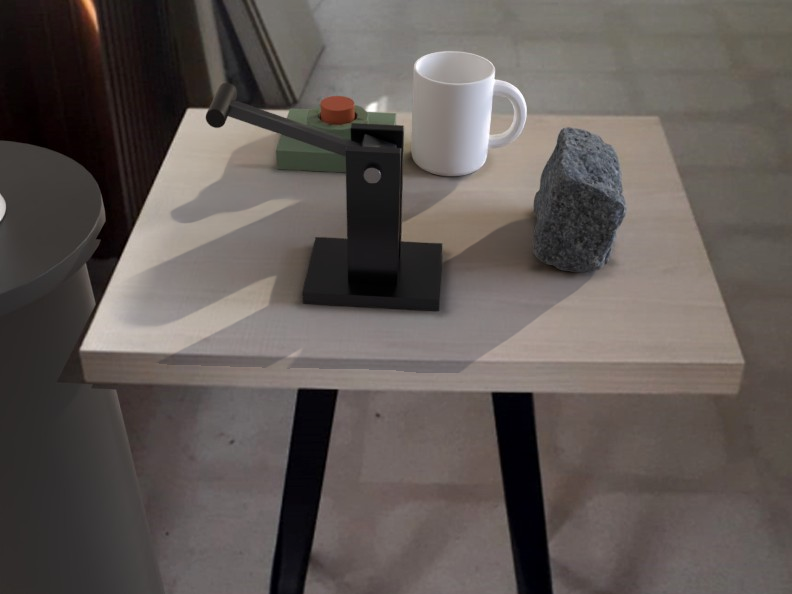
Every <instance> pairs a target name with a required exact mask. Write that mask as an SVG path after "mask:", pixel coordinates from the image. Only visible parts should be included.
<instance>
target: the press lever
mask: <svg viewBox="0 0 792 594" xmlns="http://www.w3.org/2000/svg"><path fill="white" fill-rule="evenodd" d="M237 97H238V90H237V88H236V86H235V85H234V84H232V83H230V82H223V83H221V84H220V85H219V86H218V89H217V90H216V92H215V95H214V97H213V99H212V101H211V104H210V105H209V107H208V109H207V112H206V114H205V121H206V123H207V124H208V125H209V126H210V127H211V128H214V129H220V128H222V127H223V126H224V125H226V121H227V119H228V117H229V118H232V119H235V120H238V121H241V122H242V123H243V122H244V123H247V124H249V125H252V126H255V127H258V128H262V129H264V130H267V131H269V132H272V133H276V134H278V135H280V136H281V135H284V136H287V137H290V138H293V139H296V140H299V141H302V142H304V143H307V144H310V145H313V146H316V147H319V148H322V149H325V150H328V151H331V152H334V153H337V154H339V155H342V156H345V151H346V146H365V147H386V148H396V147H397V145H395V144H392V143H390V142H387V141H384V140H381V139H378V138H375V137H372V136H369V135H367V134H365V135H364V138H363V140H362V143H361V144H359V143H356V142H353V141H351V140H348V139H345V138H342V137H339V136H336V135H333V134H330V133H328V132H325V131H322V130H319V129H316V128H313V127H310V126H307V125H304V124H302V123H299V122H296V121H293V120H290V119H287V117H284V116H281V115H278V114H275V113H273V112H270V111H267V110H265V109H261V108H258V107H255V106H252V105H250V104H246V103H244V102H241V101H238V100H236V99H237Z"/></svg>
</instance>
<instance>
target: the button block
mask: <svg viewBox="0 0 792 594" xmlns="http://www.w3.org/2000/svg"><path fill="white" fill-rule="evenodd" d="M354 108H355V119H354V121H352V122H351V123H347V124H342V125H335V124H329V123H326V122H323V121H322V120H321V105H320V104H318V105H316V106H314V107H312V108H291V107H290V108H289V110H288V114H287V116H286V118H287V119H290V120H293V121H296V122H299V123H302V124H304V125H307V126H310V127H313V128H316V129H319V130H322V131H325V132H328V133H330V134H333V135H336V136H339V137H342V138H345V139H348V140H351V130H350V128H351V124H352V123H361V124H382V125H397V113H396V112H379V111H378V112H377V111H375V112H374V111H367V110H366V109H365V108H364V107H362V106H360V105H357V104H354ZM275 157H276V169H277V170H286V171H287V170H289V171H290V170H291V171H309V172H328V173H331V172H332V173H346V159H345V156H342V155H339V154H337V153H334V152H331V151H328V150H325V149H322V148H319V147H316V146H313V145H310V144H307V143H304V142H302V141H299V140H296V139H293V138H290V137H287V136H284V135H281V134H280V136H279V140H278V143H277V146H276V149H275Z"/></svg>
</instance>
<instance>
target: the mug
mask: <svg viewBox="0 0 792 594" xmlns="http://www.w3.org/2000/svg"><path fill="white" fill-rule="evenodd" d="M412 75H413V76H412V102H411V103H412V105H411V106H412V107H411V137H410V139H411V141H410V150H411V157H412V160H413V161H414V163H415V164H416V165H417V166H418V167H419V168H420V169H421V170H423V171H425V172H427V173H429V174H432V175H437V176H441V177H461V176H465V175H470V174H472V173H475V172H477V171H478V170H479V169H480V168H482V167H483V166H484V165H485V163H486V161H487V158H488V151H489V149H491V150H493V149H500V148H504V147H506V146H508V145H510V144H511V143H513V142H515V141H516V140H517V139H518V138H519V136H520V135H521V133H522V132H523V130H524V127H525V125H526V120H527V114H528V111H527V110H528V109H527V103H526V99H525V97H524V96H523V94H522V92H521V91H520V90H519V89H518V88H517V87H516V86H515V85H513V84H511V83H510V82H507V81H505V80H501V79H495V76H496V68H495V65H494V64H493V62H491V61H490V60H489V59H487V58H486V57H484V56H481V55H478V54H475V53H471V52H467V51H459V50H458V51H457V50H443V51H436V52H431V53H428V54H425V55H422V56H420V57H419V58H418V59H416V60H415V62H414V64H413V74H412ZM494 96H496V97H502V98H505V99H508V101H510V103H511V106H512V107H513V120H512V123H511V125H510V126H509V127H508V128H507V130H505V131H504V132H502V133H497V134H491V133H490V131H491V122H492V121H491V119H492V110H493V109H492V108H493V100H494V99H493V97H494Z"/></svg>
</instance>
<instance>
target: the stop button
mask: <svg viewBox="0 0 792 594" xmlns="http://www.w3.org/2000/svg"><path fill="white" fill-rule="evenodd" d="M319 105H321V120H322V121H323V122H326V123H329V124H335V125H342V124H347V123H351V122H352V121H354V119H355V108H354V105H355V101H354V100H353V98H350V97H348V96H344V95H332V96H331V95H330V96H327V97H325V98H323V99H322V100H321V101H320V104H319Z"/></svg>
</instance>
